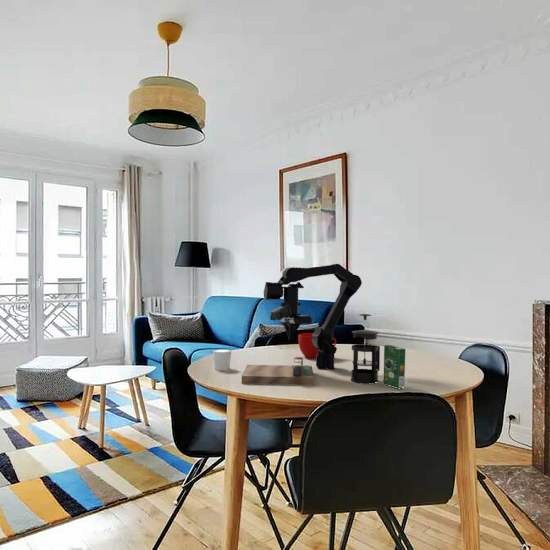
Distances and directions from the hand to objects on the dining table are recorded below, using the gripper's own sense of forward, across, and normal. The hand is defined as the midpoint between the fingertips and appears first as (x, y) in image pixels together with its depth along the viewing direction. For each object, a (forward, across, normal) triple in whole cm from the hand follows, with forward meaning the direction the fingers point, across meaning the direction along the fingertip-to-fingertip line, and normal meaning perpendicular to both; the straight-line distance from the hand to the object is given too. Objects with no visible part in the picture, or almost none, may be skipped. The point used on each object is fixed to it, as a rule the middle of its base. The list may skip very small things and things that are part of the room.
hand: (290, 340), depth 180 cm
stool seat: (+11, +10, -13) cm, 20 cm away
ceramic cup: (+11, -14, +27) cm, 32 cm away
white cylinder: (+11, -15, -21) cm, 28 cm away
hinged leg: (+8, +14, -8) cm, 19 cm away
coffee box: (+11, +42, +9) cm, 44 cm away
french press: (+11, +30, +8) cm, 34 cm away
